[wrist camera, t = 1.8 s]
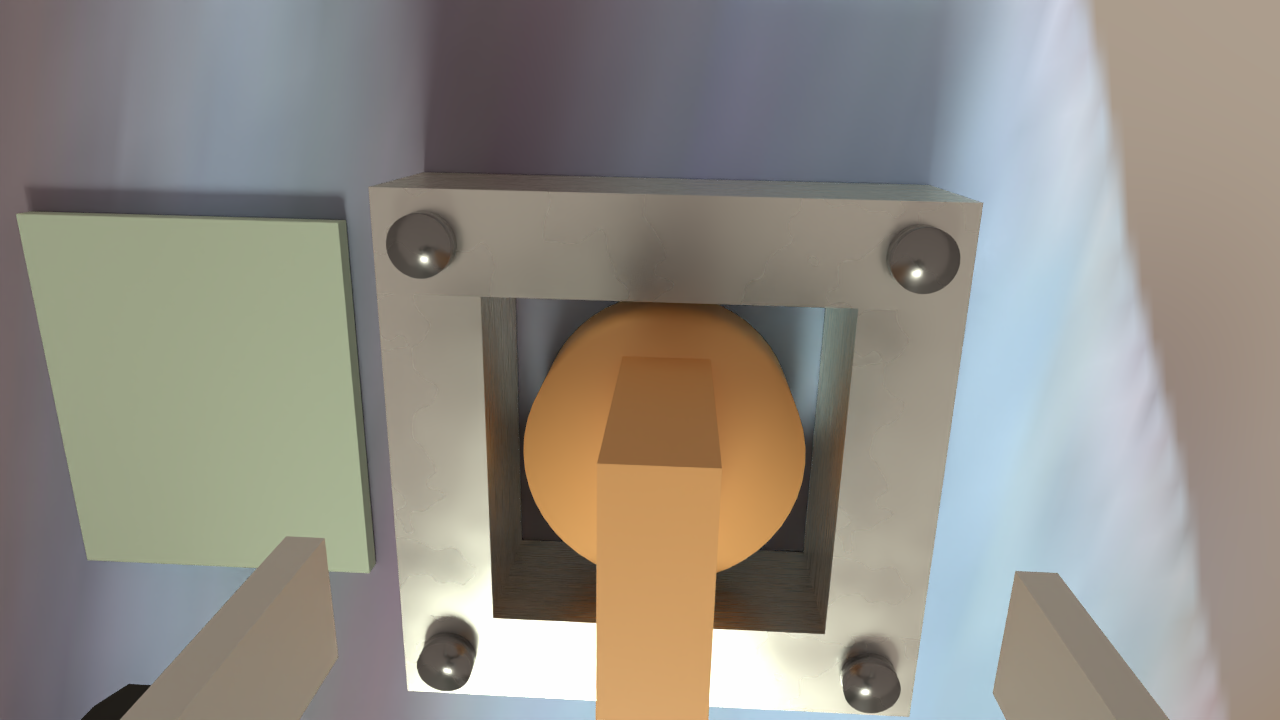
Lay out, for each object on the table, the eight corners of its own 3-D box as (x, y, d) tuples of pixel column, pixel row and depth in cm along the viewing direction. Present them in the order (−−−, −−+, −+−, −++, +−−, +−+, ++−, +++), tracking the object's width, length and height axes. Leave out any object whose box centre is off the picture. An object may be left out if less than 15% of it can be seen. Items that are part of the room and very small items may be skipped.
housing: (875, 624, 29) (914, 731, 24) (448, 604, 29) (401, 704, 24) (929, 184, 24) (992, 206, 19) (423, 172, 25) (359, 189, 20)
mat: (375, 563, 29) (369, 573, 28) (99, 551, 29) (87, 559, 29) (345, 220, 25) (338, 222, 25) (30, 211, 26) (16, 213, 25)
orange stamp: (780, 529, 28) (836, 771, 18) (545, 519, 28) (468, 750, 18) (799, 297, 25) (875, 425, 15) (541, 289, 26) (450, 409, 16)
